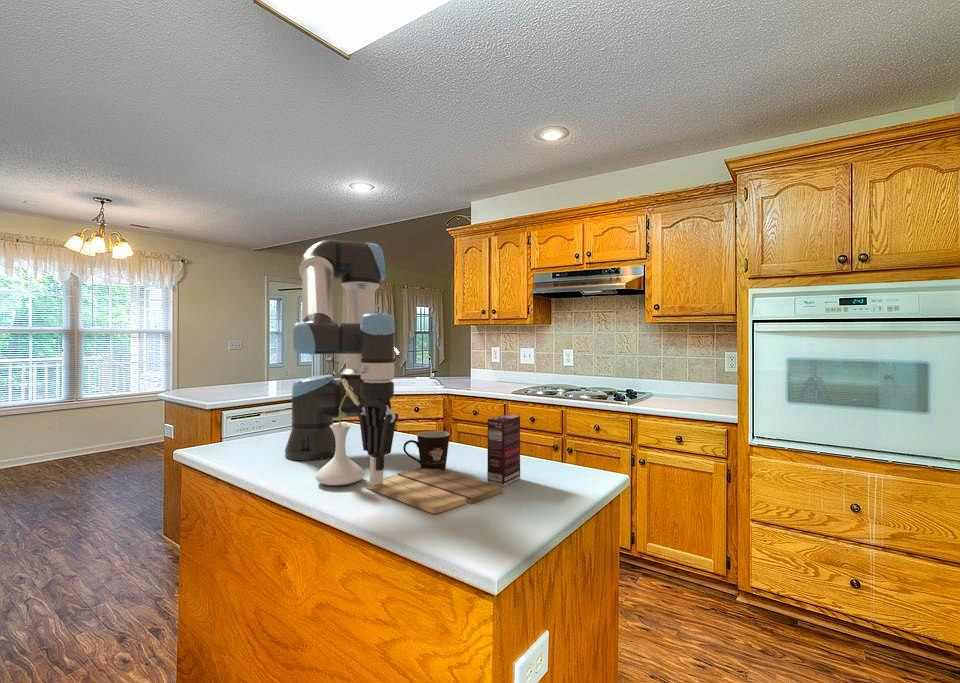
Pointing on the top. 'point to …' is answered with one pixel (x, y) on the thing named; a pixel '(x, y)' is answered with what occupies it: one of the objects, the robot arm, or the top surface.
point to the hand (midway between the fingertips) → (376, 483)
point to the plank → (417, 494)
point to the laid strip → (454, 483)
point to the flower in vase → (341, 452)
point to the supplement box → (503, 450)
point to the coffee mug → (431, 449)
